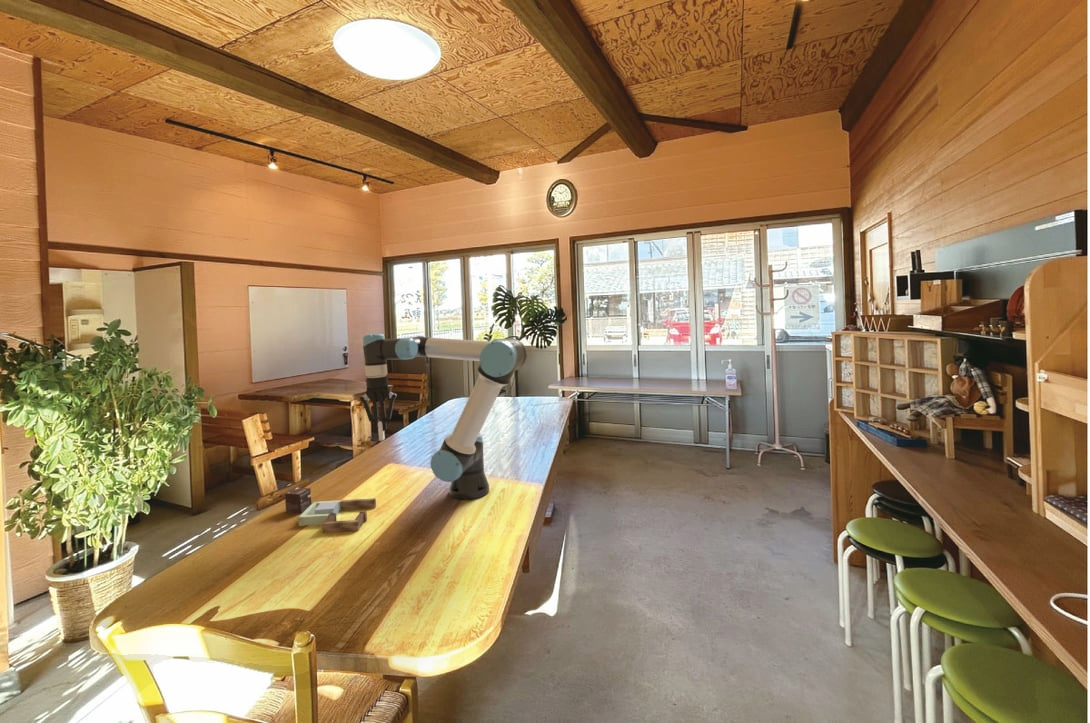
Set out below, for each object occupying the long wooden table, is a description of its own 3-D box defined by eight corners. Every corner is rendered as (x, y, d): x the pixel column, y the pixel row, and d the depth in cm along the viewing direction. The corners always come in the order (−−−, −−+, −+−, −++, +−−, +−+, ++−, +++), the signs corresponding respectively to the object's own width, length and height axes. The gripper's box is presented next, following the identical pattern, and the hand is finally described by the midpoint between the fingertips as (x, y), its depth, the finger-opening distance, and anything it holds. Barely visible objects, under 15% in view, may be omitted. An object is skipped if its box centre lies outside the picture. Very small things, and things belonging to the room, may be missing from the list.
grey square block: (338, 512, 165) (338, 501, 164) (334, 519, 159) (333, 508, 158) (320, 514, 164) (320, 503, 163) (315, 521, 158) (314, 510, 158)
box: (300, 514, 164) (299, 494, 163) (285, 513, 165) (284, 493, 164) (312, 507, 170) (310, 488, 169) (297, 506, 171) (296, 487, 170)
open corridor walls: (376, 506, 169) (375, 498, 169) (359, 530, 150) (359, 521, 149) (341, 508, 168) (341, 500, 168) (321, 533, 149) (320, 524, 148)
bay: (341, 508, 168) (341, 500, 168) (328, 524, 155) (328, 515, 155) (314, 509, 167) (313, 501, 167) (298, 526, 154) (298, 517, 154)
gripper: (396, 374, 175) (401, 435, 177) (360, 376, 173) (365, 438, 175) (393, 376, 167) (398, 440, 169) (355, 378, 165) (361, 443, 168)
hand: (381, 439), depth 172 cm, fingers closed
